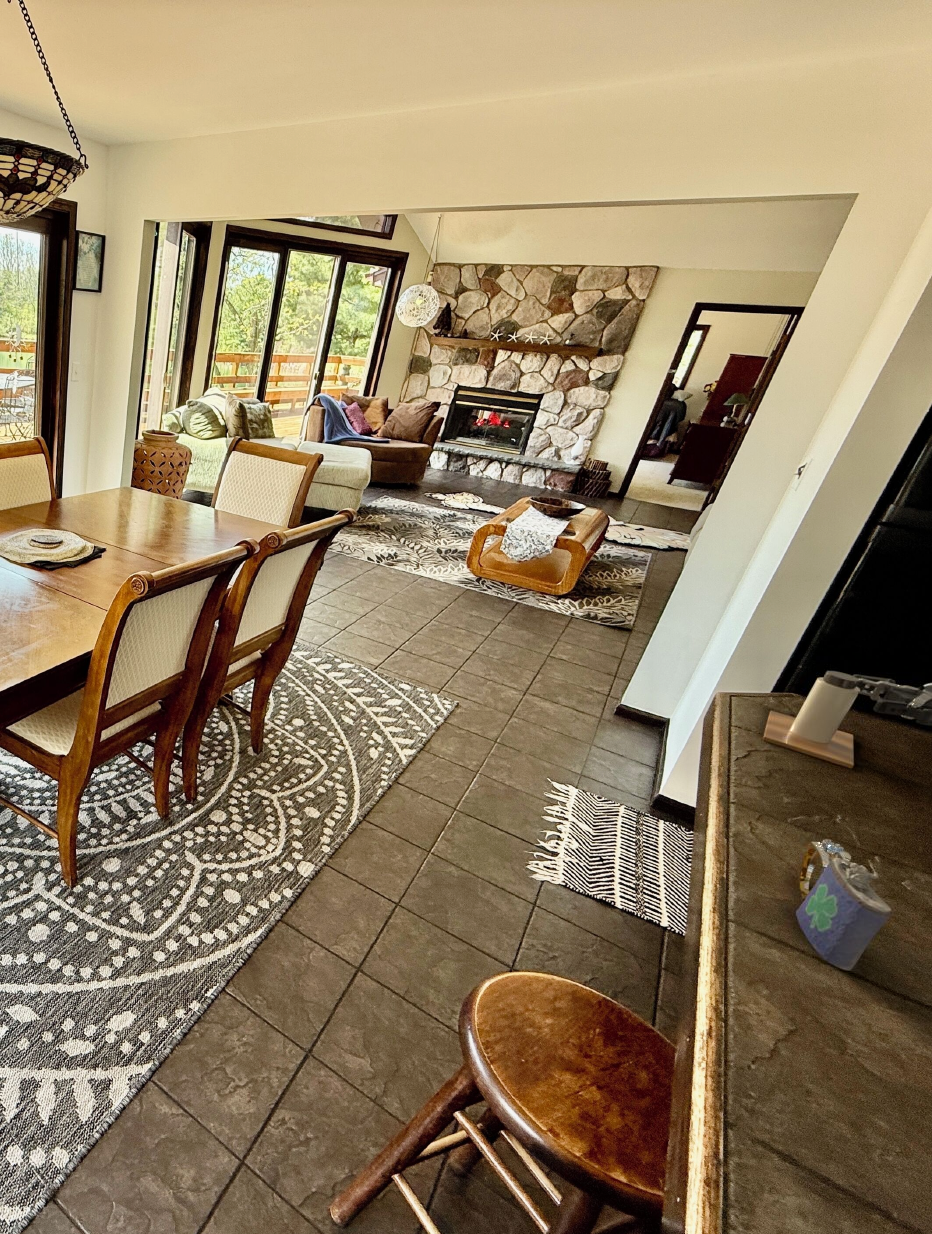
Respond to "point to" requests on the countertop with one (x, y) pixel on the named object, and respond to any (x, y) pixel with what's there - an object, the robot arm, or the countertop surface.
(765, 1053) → the countertop surface
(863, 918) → the flask
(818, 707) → the salt mill
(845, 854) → the ring
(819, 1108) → the countertop surface
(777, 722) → the wooden board
